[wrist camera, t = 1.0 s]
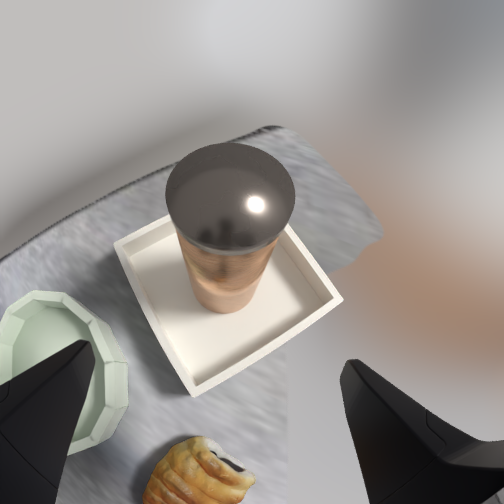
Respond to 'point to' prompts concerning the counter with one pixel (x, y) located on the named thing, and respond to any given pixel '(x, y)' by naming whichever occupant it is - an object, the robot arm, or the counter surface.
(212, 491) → the pastry
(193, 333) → the tray
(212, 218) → the canister
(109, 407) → the bowl
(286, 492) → the counter surface
